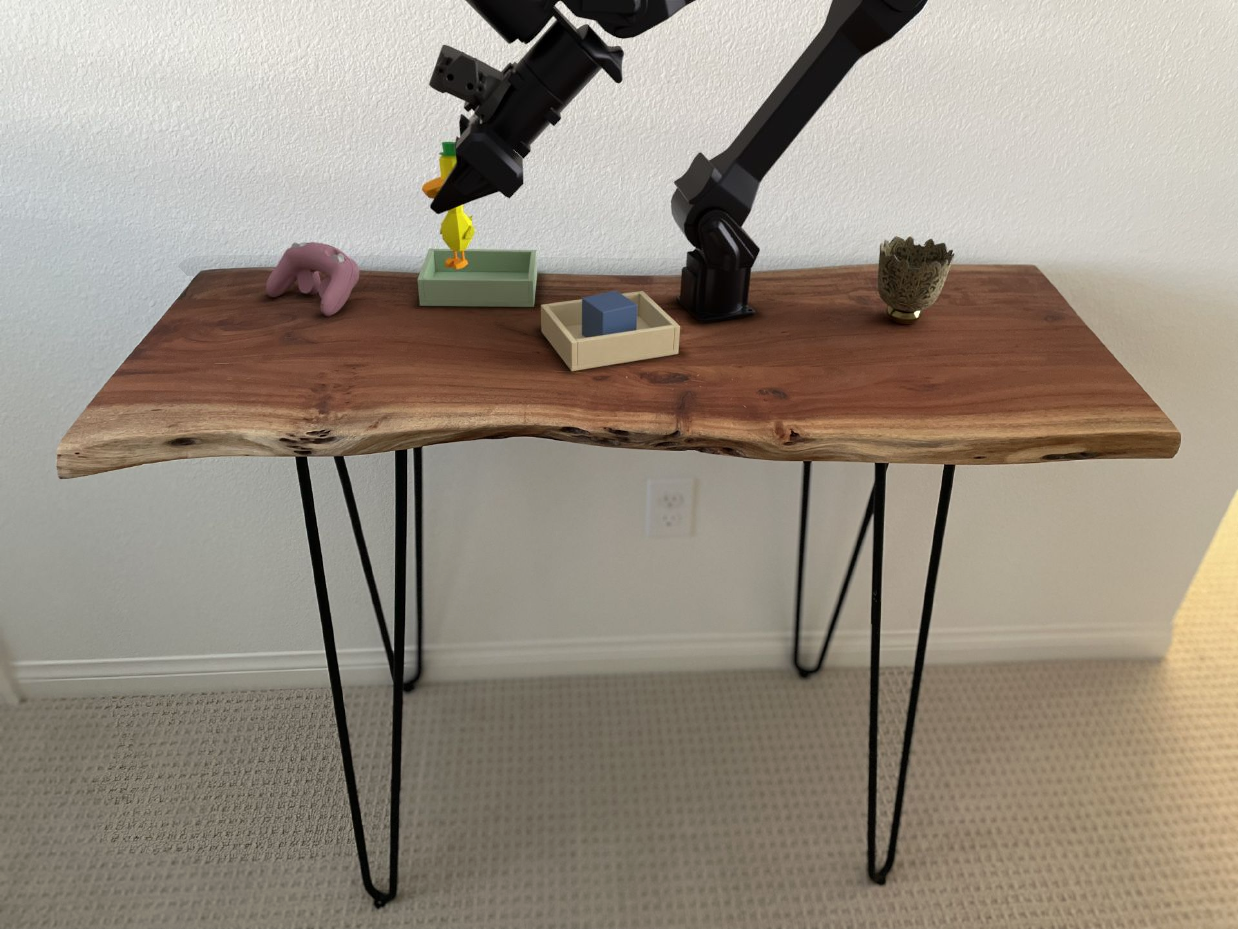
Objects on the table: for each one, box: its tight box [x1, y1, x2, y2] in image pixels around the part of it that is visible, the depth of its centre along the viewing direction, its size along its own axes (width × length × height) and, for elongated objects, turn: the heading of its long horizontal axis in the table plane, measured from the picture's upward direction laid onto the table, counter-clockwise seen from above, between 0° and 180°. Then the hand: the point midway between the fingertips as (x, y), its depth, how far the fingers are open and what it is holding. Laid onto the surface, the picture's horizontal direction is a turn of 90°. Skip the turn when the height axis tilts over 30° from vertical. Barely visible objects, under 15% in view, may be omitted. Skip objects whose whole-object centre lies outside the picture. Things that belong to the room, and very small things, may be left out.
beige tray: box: [540, 290, 681, 372], centre depth 93 cm, size 11×9×3 cm
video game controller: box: [265, 241, 360, 317], centre depth 99 cm, size 10×5×7 cm, turn 58°
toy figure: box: [421, 141, 476, 269], centre depth 91 cm, size 7×4×12 cm, turn 150°
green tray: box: [416, 248, 538, 308], centre depth 103 cm, size 12×9×3 cm
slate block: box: [581, 290, 637, 338], centre depth 92 cm, size 4×4×4 cm
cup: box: [877, 235, 955, 325], centre depth 98 cm, size 8×7×8 cm
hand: (435, 202), depth 91 cm, fingers closed on toy figure, 4 cm apart
